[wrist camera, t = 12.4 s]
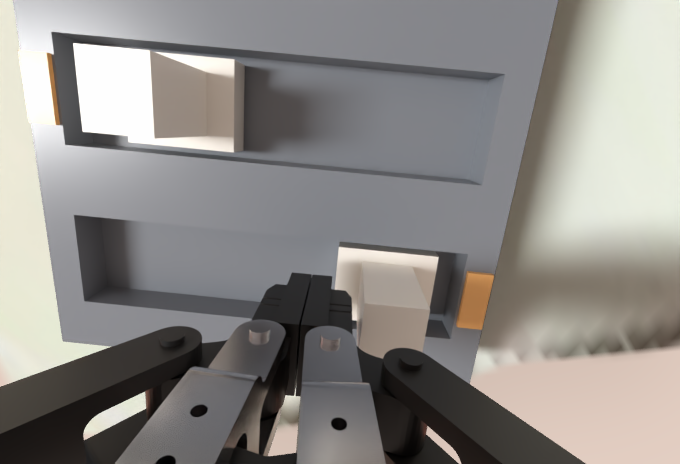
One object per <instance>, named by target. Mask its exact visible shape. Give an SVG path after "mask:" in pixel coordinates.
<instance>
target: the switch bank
mask: <svg viewBox="0 0 680 464" xmlns="http://www.w3.org/2000/svg"><path fill="white" fill-rule="evenodd" d="M557 4H558V0H13V5H14V11H15V18H16V25H17V32H18V39H19V46H20V50H18V54H19V61H20V68H21V75H22V81H23V88H24V95H25V102H26V108H27V115H28V122H29V123H31V128H32V134H33V141H34V148H35V155H36V162H37V169H38V175H39V182H40V189H41V196H42V203H43V210H44V216H45V223H46V230H47V237H48V244H49V251H50V257H51V264H52V271H53V278H54V285H55V292H56V298H57V305H58V312H59V319H60V326H61V333H62V339H63V341H65V342H74V343H84V344H93V345H103V346H112V347H113V346H115V345H118V344H121V343H124V342H127V341H129V340H132V339H135V338H138V337H140V336H143V335H146V334H149V333H152V332H154V331H157V330H160V329H163V328H167V327H173V326H187V327H191V328H194V329H196V330H198V331H199V332H200V333H201V335H202V343H209V342H219V341H225V340H228V339H229V337H230V336H231V335H232V333H233V332H234V330H235V329H236V328H237V327H238V326H239V325H241V324H243V323H245V322H248V321H251V320H252V318H253V316H254V314H255V312H256V310H257V308H258V306H259V305H260V302H261V300H262V298H263V296H264V294H265V292H266V290H267V289H269V288H270V287H272V286H274V285H275V284H281V285H287V284H288V281H289V279H290V276H291V273H292V272H293V273H304V274H312V276H313V274H315V275H325V276H332V287H331V289H334V290H335V281H336V271H337V260H338V250H339V242H340V241H341V242H351V243H361V244H371V245H381V246H391V247H401V248H411V249H421V250H431V251H435V252H436V253H437V255H438V256H439V259H438V264H437V270H436V275H435V281H434V286H433V292H432V297H431V303H430V313H429V318H428V324H427V329H426V335H425V340H424V346H423V351H422V353H424V354H426V355H428V356H429V357H431V358H432V359H434V360H435V361H437V362H438V363H439V364H441V365H442V366H444V367H445V368H447V369H448V370H450V371H451V372H453V373H454V374H456V375H457V376H458V377H460V378H461V379H463V380H464V381H466V382H467V383H469V384H470V380H471V375H472V371H473V367H474V362H475V358H476V354H477V349H478V345H479V341H480V336H481V332H482V328H483V324H484V319H485V315H486V311H487V306H488V302H489V298H490V293H491V289H492V285H493V280H494V276H495V272H496V267H497V263H498V259H499V255H500V250H501V246H502V242H503V237H504V233H505V229H506V224H507V220H508V216H509V211H510V207H511V203H512V198H513V194H514V190H515V185H516V181H517V177H518V173H519V168H520V164H521V160H522V155H523V151H524V147H525V142H526V138H527V134H528V129H529V125H530V121H531V116H532V112H533V108H534V104H535V99H536V95H537V91H538V86H539V82H540V78H541V73H542V69H543V65H544V60H545V56H546V52H547V47H548V43H549V39H550V35H551V30H552V26H553V22H554V17H555V13H556V9H557ZM73 43H77V44H88V45H99V46H109V47H120V48H131V49H141V50H150V51H153V52H162V53H172V54H183V55H194V56H204V57H215V58H226V59H235V60H236V61H238V62H240V63H242V64H243V65H245V78H244V145H243V151H239V152H223V151H213V150H203V149H192V148H182V147H172V146H161V145H151V144H141V143H131V142H128V136H123V135H112V134H102V133H92V132H83V131H82V121H81V112H80V103H79V94H78V84H77V75H76V66H75V57H74V47H73ZM352 327H353V336H354V338H355V341H356V346H357V321H355V320H352Z"/></svg>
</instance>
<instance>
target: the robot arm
mask: <svg viewBox="0 0 680 464" xmlns="http://www.w3.org/2000/svg"><path fill="white" fill-rule="evenodd" d="M331 287H332V276H325V275H315V274H313V276H312V274H304V273H293V272H292V273H291V276H290V279H289V281H288V284H287V285H281V284H275V285H274V286H272V287H270V288H269V289H267V290H266V292H265V294H264V296H263V298H262V300H261V302H260V305H259V306H258V308H257V310H256V312H255V314H254V316H253V318H252V320H251V321H248V322H245V323H243V324H241V325H239V326H238V327H237V328H236V329H235V330H234V332H233V333H232V335H231V336H230V337H229V339H228V340H225V341H219V342H209V343H202V335H201V333H200V332H199V331H198V330H196V329H194V328H191V327H187V326H173V327H167V328H163V329H160V330H157V331H154V332H152V333H149V334H146V335H143V336H140V337H138V338H135V339H132V340H129V341H127V342H124V343H121V344H118V345H115V346H113V347H110V348H107V349H104V350H102V351H99V352H96V353H93V354H90V355H88V356H85V357H82V358H79V359H77V360H74V361H71V362H68V363H65V364H63V365H60V366H57V367H54V368H51V369H49V370H46V371H43V372H40V373H38V374H35V375H32V376H29V377H26V378H24V379H21V380H18V381H15V382H13V383H10V384H7V385H4V386H1V387H0V464H458V463H457V462H456V461H455V460H454V459H453V458H452V457H451V456H450V455H448V454H447V453H446V452H445V451H444V450H443V449H442V448H441V447H440V446H438V445H437V444H436V443H435V442H434V441H433V440H432V439H431V438H430V437H428V436H427V435H426V430H427V426H429V427H430V428H431V429H432V430H433V431H434V432H436V433H437V434H438V435H439V436H440V437H441V438H442V439H444V440H445V441H446V442H447V443H448V444H449V445H451V447H453V449H454V450H455V451H456V453H457V454H458V456H459V458H460V460H461V463H462V464H585V463H584V462H582V461H581V460H580V459H578V458H577V457H575V456H574V455H572V454H571V453H569V452H568V451H566V450H565V449H563V448H562V447H561V446H559V445H558V444H556V443H555V442H553V441H552V440H550V439H549V438H547V437H546V436H544V435H543V434H542V433H540V432H539V431H537V430H536V429H534V428H533V427H531V426H530V425H528V424H527V423H526V422H524V421H522V420H521V419H520V418H518V417H517V416H515V415H514V414H512V413H511V412H509V411H508V410H507V409H505V408H503V407H502V406H501V405H499V404H498V403H496V402H495V401H493V400H492V399H491V398H489V397H488V396H486V395H485V394H483V393H482V392H480V391H479V390H477V389H476V388H474V387H473V386H471V385H470V384H469V383H467V382H466V381H464V380H463V379H461V378H460V377H458V376H457V375H456V374H454V373H453V372H451V371H450V370H448V369H447V368H445V367H444V366H442V365H441V364H439V363H438V362H437V361H435V360H434V359H432V358H431V357H429V356H428V355H426V354H424V353H422V352H420V351H418V350H414V349H410V348H395V349H392V350H389V351H388V352H387V353H386V354H385V355H384V357H383V359H382V358H379V357H375V356H372V355H370V354H368V353H366V352H364V351H362V350H361V349H360V348H358V347H357V346H356V341H355V338H354V336H353V327H352V298H351V296H350V295H349V294H348V293H347V292H346V291H344V290H334V289H331ZM296 383H297V385H296ZM295 388H296V396H300V409H299V422H298V437H297V450H296V453H292V454H285V455H277V456H268V453H269V450H270V447H271V444H272V441H273V438H274V436H275V433H276V430H277V427H278V424H279V421H280V417H281V407H282V405H283V402H284V398H285V395H291V396H294V393H295ZM143 392H145V396H146V409H145V410H143V411H141V412H139V413H137V414H135V415H133V416H131V417H129V418H127V419H125V420H123V421H121V422H119V423H117V424H115V425H114V426H112V427H110V428H108V429H106V430H104V431H102V432H100V433H98V434H96V435H94V436H92V437H90V438H88V439H86V440H84V439H83V432H84V429H85V427H86V425H87V424H88V423H89V421H90V420H91V419H92V418H93V417H95V416H96V415H97V414H99V413H101V412H103V411H105V410H107V409H109V408H111V407H113V406H115V405H117V404H119V403H122V402H124V401H126V400H128V399H130V398H132V397H134V396H136V395H138V394H140V393H143Z"/></svg>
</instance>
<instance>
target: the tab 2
mask: <svg viewBox="0 0 680 464" xmlns="http://www.w3.org/2000/svg"><path fill="white" fill-rule="evenodd" d="M438 259H439V256H438V255H437V253H436V252H435V251H431V250H421V249H411V248H401V247H391V246H381V245H371V244H361V243H351V242H341V241H340V242H339V250H338V260H337V271H336V281H335V290H344V291H346V292H347V293H348V294H349V295H350V296H351V298H352V320H355V321H357V347H358V348H360V349H361V350H362V351H364V352H366V353H368V354H370V355H372V356H375V357H379V358H382V359H383V357H384V355H385V354H386V353H387V352H388V351H389V350H392V349H395V348H410V349H414V350H418V351H420V352H422V351H423V346H424V340H425V335H426V329H427V324H428V318H429V313H430V303H431V297H432V292H433V286H434V281H435V275H436V270H437V264H438Z"/></svg>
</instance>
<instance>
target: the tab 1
mask: <svg viewBox="0 0 680 464" xmlns="http://www.w3.org/2000/svg"><path fill="white" fill-rule="evenodd" d="M73 47H74V57H75V66H76V75H77V84H78V94H79V103H80V112H81V121H82V131H83V132H92V133H102V134H112V135H123V136H128V142H131V143H141V144H151V145H161V146H172V147H182V148H192V149H203V150H213V151H223V152H239V151H243V145H244V78H245V65H243V64H242V63H240V62H238V61H236V60H235V59H226V58H215V57H204V56H194V55H183V54H172V53H162V52H153V51H150V50H141V49H131V48H120V47H109V46H99V45H88V44H77V43H73Z"/></svg>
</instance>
